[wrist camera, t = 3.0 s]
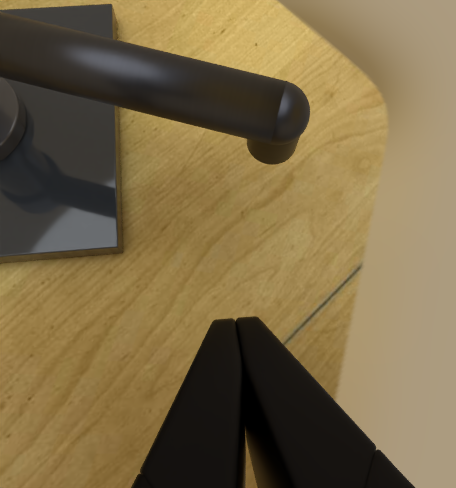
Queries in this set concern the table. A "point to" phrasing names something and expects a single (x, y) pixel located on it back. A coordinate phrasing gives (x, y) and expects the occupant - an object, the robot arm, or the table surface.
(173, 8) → the table surface
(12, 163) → the black flat block
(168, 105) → the spout
